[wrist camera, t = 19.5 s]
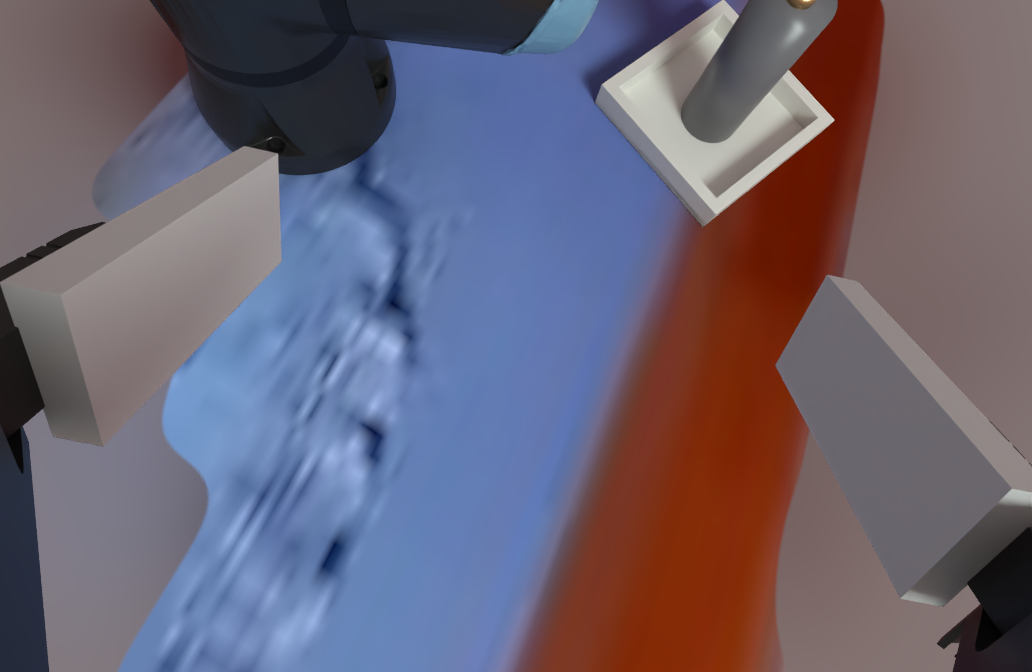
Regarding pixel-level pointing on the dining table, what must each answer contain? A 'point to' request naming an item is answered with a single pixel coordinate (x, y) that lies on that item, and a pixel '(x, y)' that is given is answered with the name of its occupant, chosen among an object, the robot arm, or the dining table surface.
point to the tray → (681, 157)
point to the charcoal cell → (751, 63)
